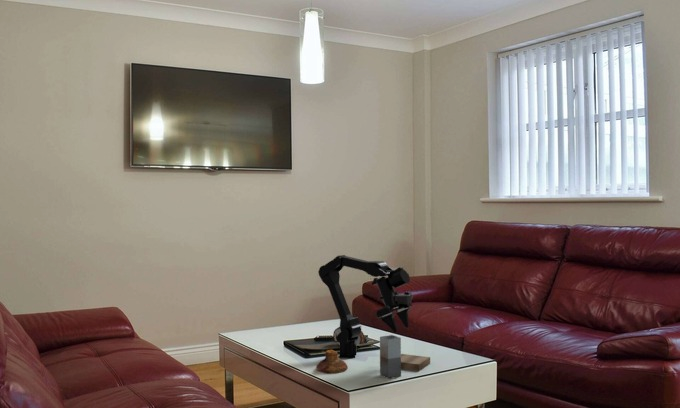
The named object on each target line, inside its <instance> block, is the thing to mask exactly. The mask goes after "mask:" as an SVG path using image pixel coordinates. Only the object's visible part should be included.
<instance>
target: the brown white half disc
mask: <svg viewBox="0 0 680 408" xmlns="http://www.w3.org/2000/svg"><path fill="white" fill-rule="evenodd" d="M340 332H341V330H340V326H338V327H337V328H335V329H334V330H333V340H334V342H335V341H337V340H336V336H337V335H338V334H339V333H340ZM365 338H366V337H365V334H364V332H363V331H362V330H361V333H360V335H359V337H358V340H355V343H356V344H363V345H364V343H365V341H366V339H365Z"/></svg>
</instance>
